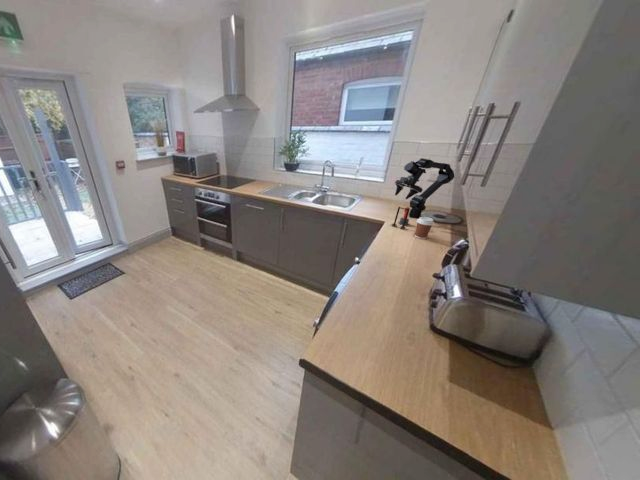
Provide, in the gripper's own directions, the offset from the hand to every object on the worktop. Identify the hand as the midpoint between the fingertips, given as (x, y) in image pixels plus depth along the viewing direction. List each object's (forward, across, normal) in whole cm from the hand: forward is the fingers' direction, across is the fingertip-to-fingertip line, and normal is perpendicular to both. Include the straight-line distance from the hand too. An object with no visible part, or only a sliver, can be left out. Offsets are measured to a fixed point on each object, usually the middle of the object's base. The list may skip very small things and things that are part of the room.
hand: (400, 197), depth 178 cm
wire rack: (+19, +13, 0) cm, 23 cm away
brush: (+15, +9, +7) cm, 19 cm away
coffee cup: (+18, +28, +2) cm, 33 cm away
